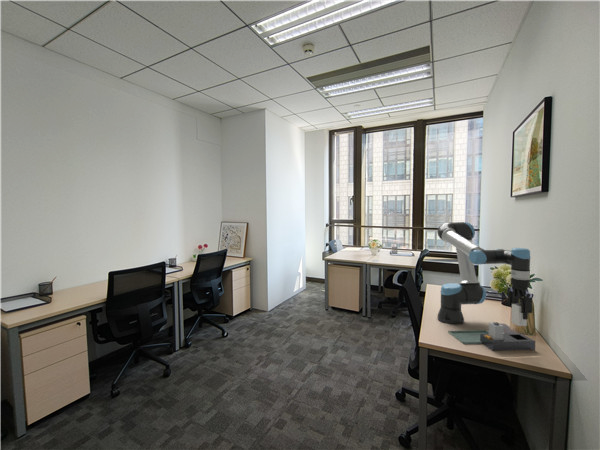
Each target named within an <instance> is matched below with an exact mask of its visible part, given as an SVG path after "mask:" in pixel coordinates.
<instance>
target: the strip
mask: <svg viewBox="0 0 600 450" xmlns="http://www.w3.org/2000/svg"><path fill="white" fill-rule="evenodd" d="M480 341H482V344H481V345H483V346H485V347H486V348H487V349H489V350H490V351H492V352H498V351H499V352H500V351H502V352H505V351H507V352H509V351H536V340H534V339H532V338H530V337H529V336H527V335H525V334H523V333H521V332H517V333H503V340H493V339H492V337H490V336H489V334H480Z"/></svg>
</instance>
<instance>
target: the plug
mask: <svg viewBox="0 0 600 450" xmlns="http://www.w3.org/2000/svg"><path fill="white" fill-rule="evenodd" d="M511 304H512V303H511ZM520 312H522V309H521V302H518V303H516V304H512V308H511V318H510V319H511V322H510V323H511V324H513V325H516V326H518V327H527V326H528V324H527V325H520Z"/></svg>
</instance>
